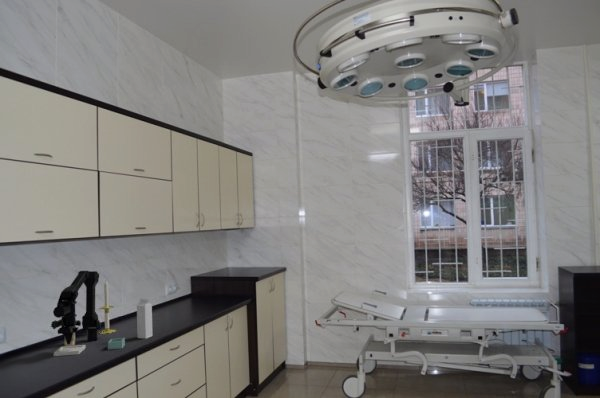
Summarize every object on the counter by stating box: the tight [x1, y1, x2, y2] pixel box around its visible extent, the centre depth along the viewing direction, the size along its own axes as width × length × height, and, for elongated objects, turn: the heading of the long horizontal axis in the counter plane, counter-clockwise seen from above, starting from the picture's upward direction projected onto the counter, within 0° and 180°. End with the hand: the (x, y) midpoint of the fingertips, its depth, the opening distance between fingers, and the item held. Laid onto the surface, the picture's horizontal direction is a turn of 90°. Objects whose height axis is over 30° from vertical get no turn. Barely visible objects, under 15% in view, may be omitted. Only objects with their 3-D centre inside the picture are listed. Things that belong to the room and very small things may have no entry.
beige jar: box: [64, 333, 76, 347], centre depth 241 cm, size 4×4×6 cm
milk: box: [136, 298, 153, 340], centre depth 267 cm, size 6×6×22 cm
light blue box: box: [107, 337, 126, 351], centre depth 247 cm, size 7×7×4 cm
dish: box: [53, 344, 86, 357], centre depth 241 cm, size 12×12×2 cm
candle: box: [98, 280, 117, 335], centre depth 285 cm, size 10×10×32 cm
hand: (69, 343), depth 241 cm, fingers closed on beige jar, 4 cm apart
